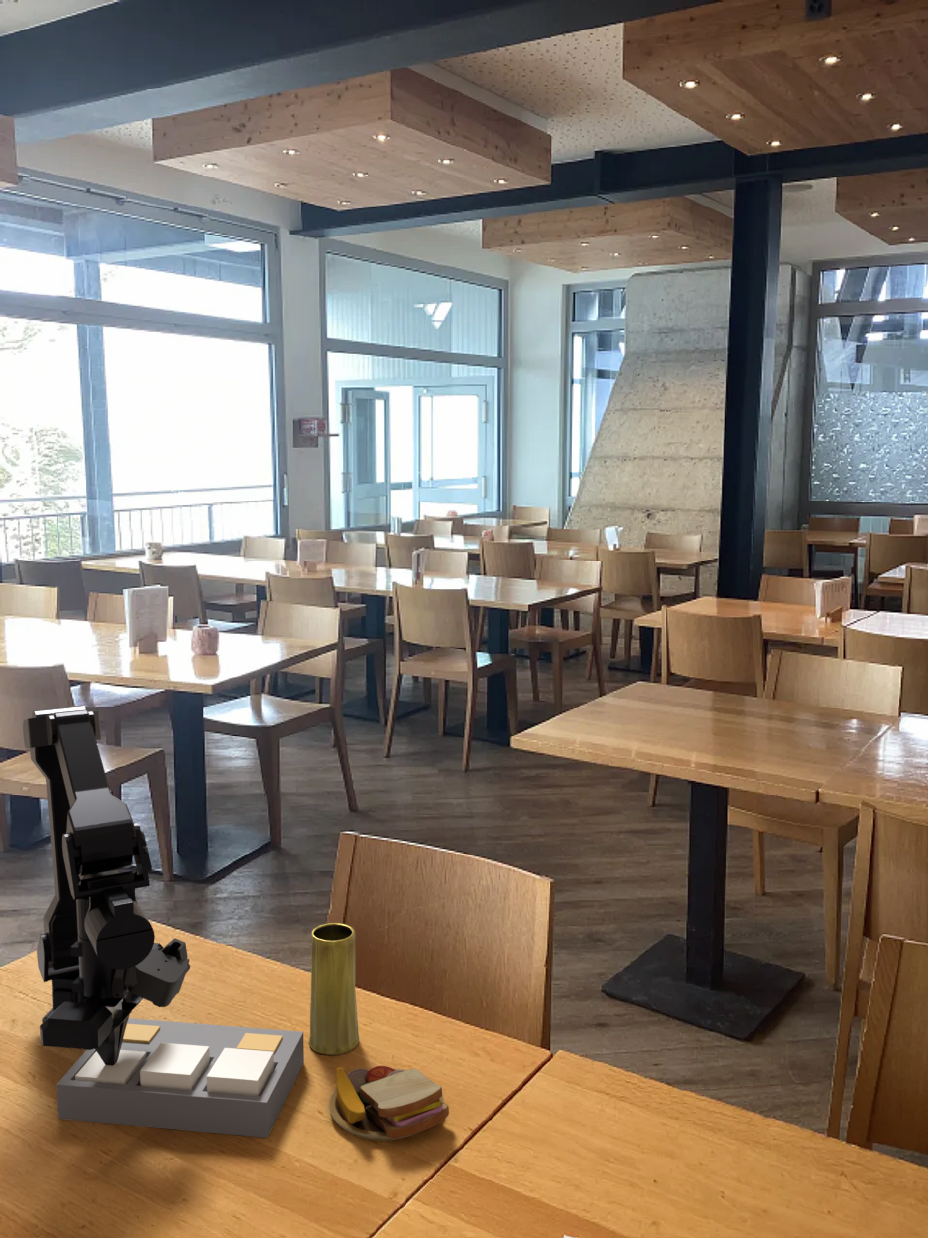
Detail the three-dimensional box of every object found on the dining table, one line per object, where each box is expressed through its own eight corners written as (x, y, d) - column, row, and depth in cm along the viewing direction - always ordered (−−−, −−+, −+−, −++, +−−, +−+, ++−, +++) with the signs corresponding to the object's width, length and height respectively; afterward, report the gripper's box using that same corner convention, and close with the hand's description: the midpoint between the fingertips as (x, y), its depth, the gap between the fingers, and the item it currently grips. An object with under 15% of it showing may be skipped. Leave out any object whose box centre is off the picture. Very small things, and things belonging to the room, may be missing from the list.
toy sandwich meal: (420, 1068, 125) (420, 1031, 124) (464, 1136, 112) (464, 1095, 112) (316, 1092, 120) (315, 1053, 119) (350, 1165, 108) (349, 1122, 107)
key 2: (225, 1068, 119) (224, 1047, 118) (273, 1072, 118) (273, 1051, 118) (207, 1098, 113) (206, 1076, 113) (258, 1102, 112) (257, 1080, 112)
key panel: (58, 1119, 114) (56, 1082, 113) (116, 1048, 128) (114, 1014, 127) (267, 1138, 111) (266, 1100, 111) (303, 1063, 125) (303, 1029, 124)
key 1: (99, 1068, 121) (98, 1048, 120) (146, 1072, 120) (146, 1051, 119) (76, 1097, 115) (75, 1076, 115) (125, 1101, 114) (124, 1080, 114)
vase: (350, 1059, 126) (349, 945, 124) (301, 1052, 127) (299, 940, 125) (365, 1032, 132) (364, 923, 130) (318, 1026, 133) (317, 918, 131)
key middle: (161, 1063, 119) (161, 1042, 119) (209, 1067, 119) (209, 1046, 118) (140, 1092, 114) (140, 1071, 114) (191, 1096, 113) (190, 1075, 113)
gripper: (140, 976, 105) (145, 1122, 107) (208, 899, 123) (211, 1025, 125) (33, 969, 106) (41, 1112, 108) (117, 893, 124) (121, 1018, 127)
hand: (111, 1063), depth 117 cm, fingers closed, pressing on key 1
